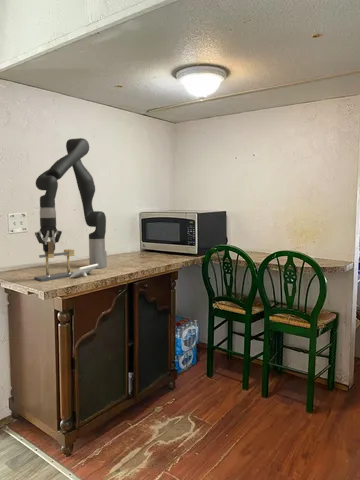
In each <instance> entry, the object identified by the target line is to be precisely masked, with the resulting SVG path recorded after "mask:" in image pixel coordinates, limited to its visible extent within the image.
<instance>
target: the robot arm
mask: <svg viewBox="0 0 360 480" xmlns="http://www.w3.org/2000/svg"><path fill="white" fill-rule="evenodd" d="M65 149H66V154H65V155H63V156H62V157H60V158H59V159H58V160H57V159H56V161H55V162H54V163H53V164H52V165H51V166H50V167H49V168H48V169H47V170H44V172H43V173H41V174H39V175H38V176H37V178H36V180H35V187H36V188H37V189H38V190H40V191H45V192H44V194H43V195H40V197H39V228H40V229H39V231H36V232H34V236H35V238H36V240H37V242H38V243H39V244H41V245H42V250H43V252H44V253H45V252H48V249H47V241H48V240H49V241H51V242H54V251H55V250H56V244H57V243H60V242H59V241H60V239H61V237H62V234H63V233H62V232H63V231H61V230H58V229H57V210H56V196H57V191H58V188H59V183H58V182H59V181H58V180H60V179H62V178H63V177H64V176H65V174H66V173H67V172H68V171H69V169H70V168H71V167H72V170H73V172H74V176H75V180H76V185H77V188H78V192H79V195H80V199H81V204H82V210H83V215H84V221H85V223H86V225H87V227H91V228H95V230H94V231H93V232H91V233H88V255H89V256H88V261H89V264H88V266H89V265H93V264H98V266H97V267H96V268H95V269H104V268H107V267H108V266H107V265H108V262H107V261H108V260H107V250H106V240H105V237H106V232H107V226H106V225H107V215H106V214H105V212H103V211H98V210H94V209H93V208H94V207H93V198H94V197H95V193H96V185H95V181H94V178H93V176H92V174H91V173H90V171H89V170H88V169H87V167H85V165H84V164H83V162H82V158H84V157H85V156H87V154H88V153H89V151H90V144H89V141H88V140H87V139H86V138H83V137H82V138H81V137H80V138H78V137H77V138H70V139H68V140H66V143H65Z"/></svg>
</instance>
